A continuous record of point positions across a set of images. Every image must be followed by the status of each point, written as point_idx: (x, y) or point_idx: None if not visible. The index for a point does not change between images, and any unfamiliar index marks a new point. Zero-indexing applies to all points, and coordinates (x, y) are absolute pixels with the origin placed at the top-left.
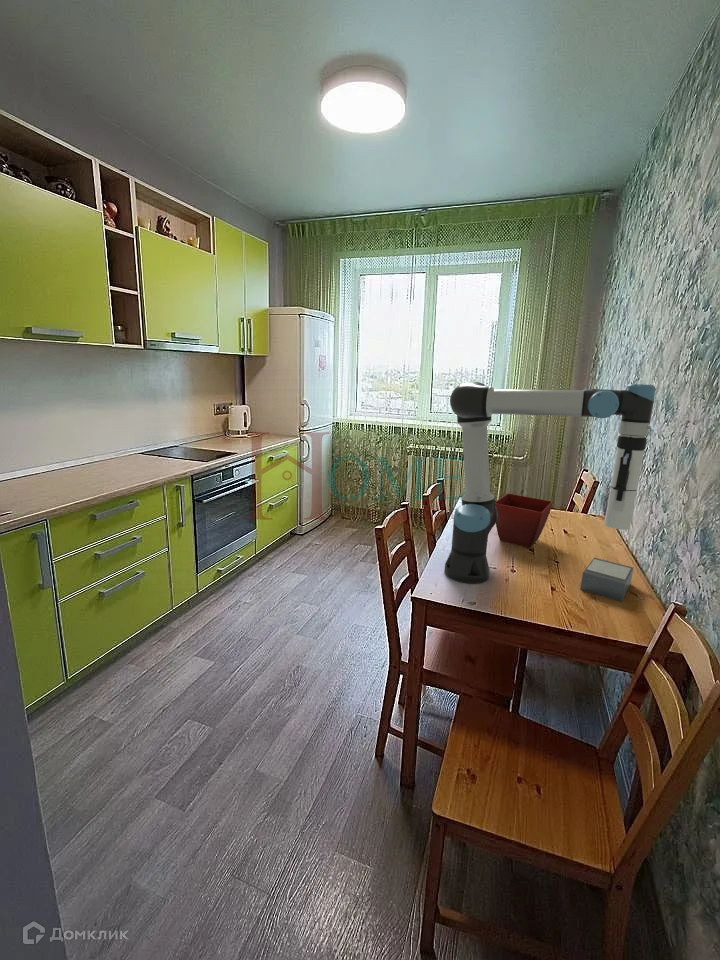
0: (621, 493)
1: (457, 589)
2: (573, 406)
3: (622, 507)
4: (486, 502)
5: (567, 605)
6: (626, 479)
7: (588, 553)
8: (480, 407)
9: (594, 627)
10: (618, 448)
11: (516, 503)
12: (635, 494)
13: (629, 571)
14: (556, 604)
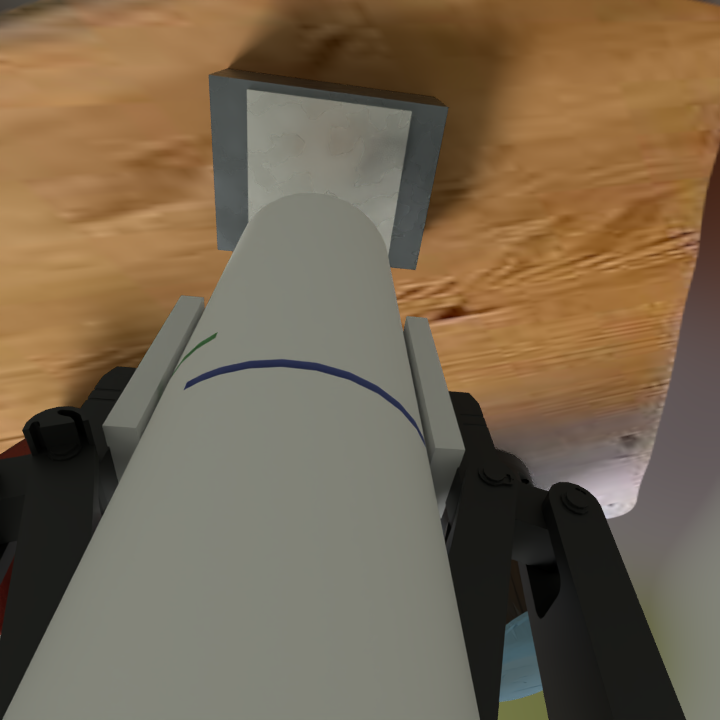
0: (494, 458)
1: (569, 477)
2: None
3: (432, 340)
4: None
5: (551, 260)
6: (630, 624)
7: (21, 256)
8: None
9: (673, 172)
10: None
11: (4, 578)
12: (322, 332)
13: (287, 94)
14: (557, 287)
